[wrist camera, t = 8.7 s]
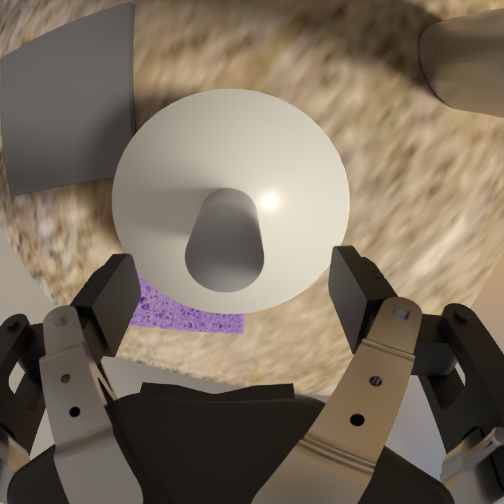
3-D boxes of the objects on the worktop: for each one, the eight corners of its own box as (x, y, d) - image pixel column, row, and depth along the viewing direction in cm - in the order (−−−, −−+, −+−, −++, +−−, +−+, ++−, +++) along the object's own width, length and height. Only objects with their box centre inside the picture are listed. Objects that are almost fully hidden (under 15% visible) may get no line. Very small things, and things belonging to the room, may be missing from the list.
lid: (350, 94, 13) (403, 90, 8) (332, 301, 20) (356, 360, 15) (104, 107, 13) (46, 111, 8) (140, 307, 20) (117, 366, 14)
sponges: (119, 259, 26) (112, 269, 24) (248, 266, 26) (248, 278, 25) (130, 315, 29) (125, 326, 27) (243, 323, 30) (244, 335, 28)
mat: (134, 5, 14) (130, 2, 14) (139, 172, 21) (135, 175, 20) (7, 58, 14) (1, 58, 13) (16, 193, 21) (11, 196, 20)
